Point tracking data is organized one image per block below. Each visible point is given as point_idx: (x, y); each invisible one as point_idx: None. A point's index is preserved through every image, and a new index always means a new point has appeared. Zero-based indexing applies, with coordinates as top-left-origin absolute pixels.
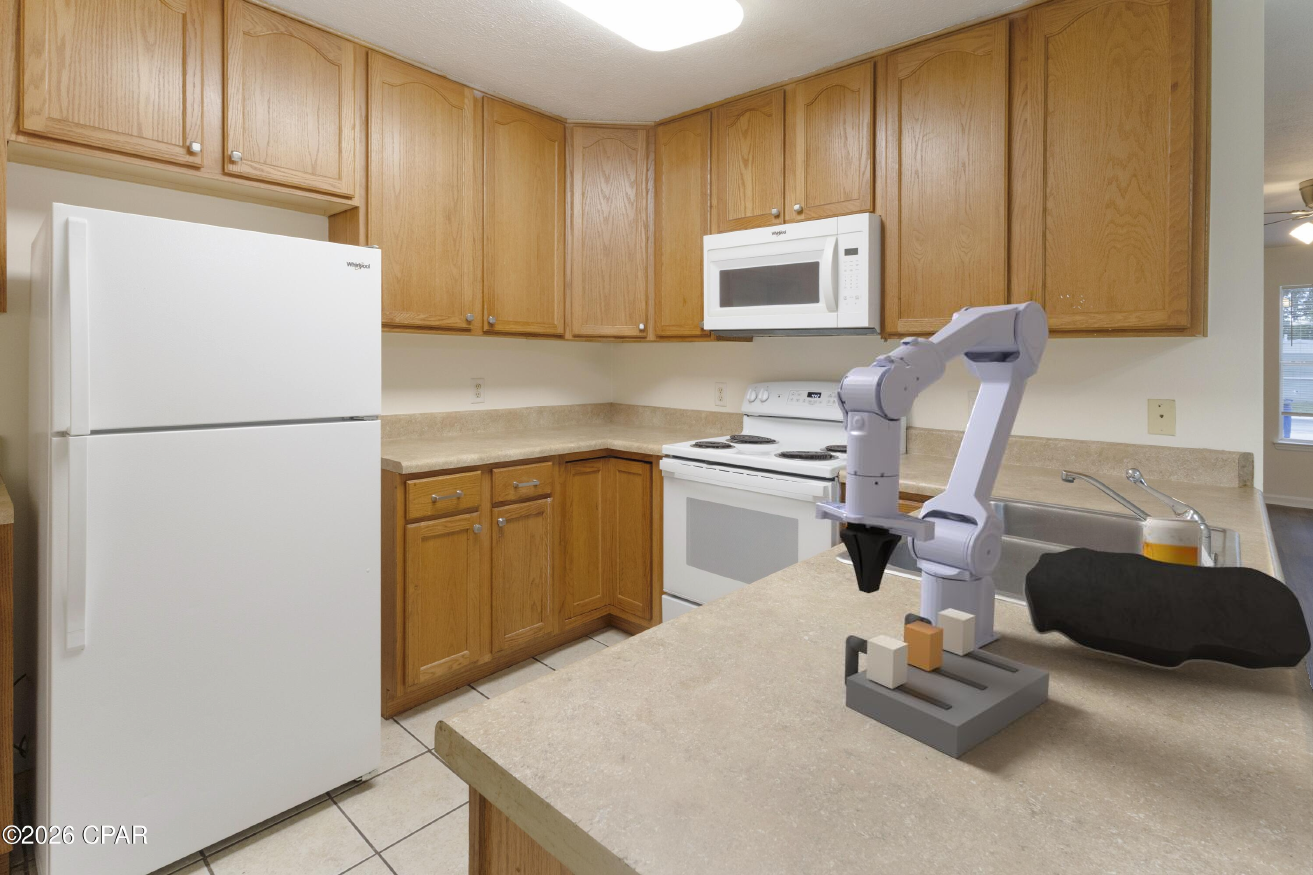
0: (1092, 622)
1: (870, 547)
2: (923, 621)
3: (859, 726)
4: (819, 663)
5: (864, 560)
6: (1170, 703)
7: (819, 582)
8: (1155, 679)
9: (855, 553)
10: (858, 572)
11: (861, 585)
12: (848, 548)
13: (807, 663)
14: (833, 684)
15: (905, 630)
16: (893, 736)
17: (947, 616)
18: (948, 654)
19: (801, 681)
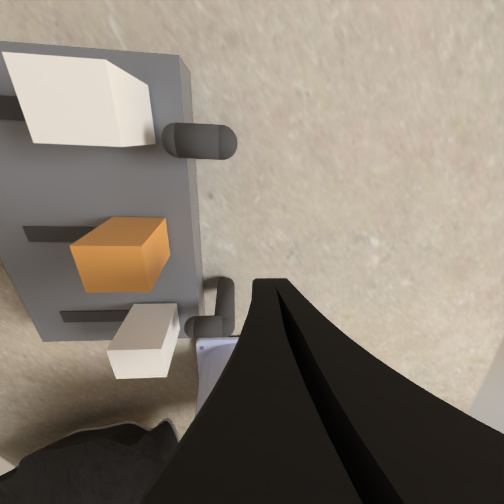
0: (101, 457)
1: (214, 446)
2: (192, 325)
3: (120, 12)
4: (312, 181)
5: (277, 352)
6: (15, 384)
7: (434, 381)
8: (62, 412)
9: (340, 370)
10: (298, 307)
11: (278, 284)
12: (400, 385)
13: (327, 164)
14: (253, 130)
15: (143, 242)
16: (64, 34)
17: (141, 348)
18: (152, 296)
19: (297, 91)
